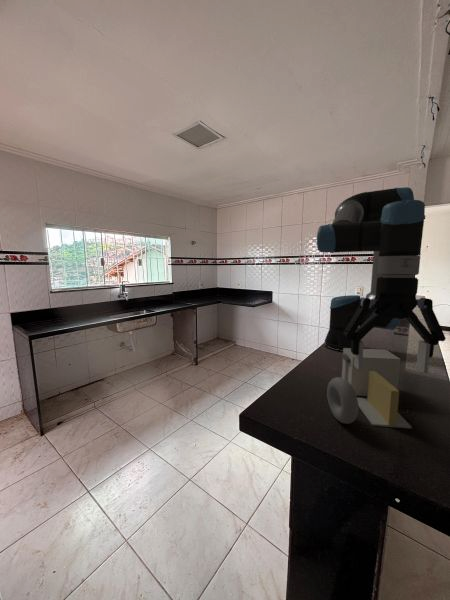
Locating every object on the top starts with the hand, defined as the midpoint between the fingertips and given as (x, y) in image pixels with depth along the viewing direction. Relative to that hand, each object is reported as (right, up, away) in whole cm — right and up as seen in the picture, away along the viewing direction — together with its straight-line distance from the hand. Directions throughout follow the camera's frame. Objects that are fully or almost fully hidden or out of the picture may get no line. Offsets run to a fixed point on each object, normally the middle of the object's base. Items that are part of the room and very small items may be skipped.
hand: (389, 369), depth 58 cm
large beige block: (+4, -10, +16) cm, 19 cm away
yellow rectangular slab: (0, -11, +3) cm, 12 cm away
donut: (-11, -12, +1) cm, 16 cm away
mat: (0, -12, +4) cm, 12 cm away
